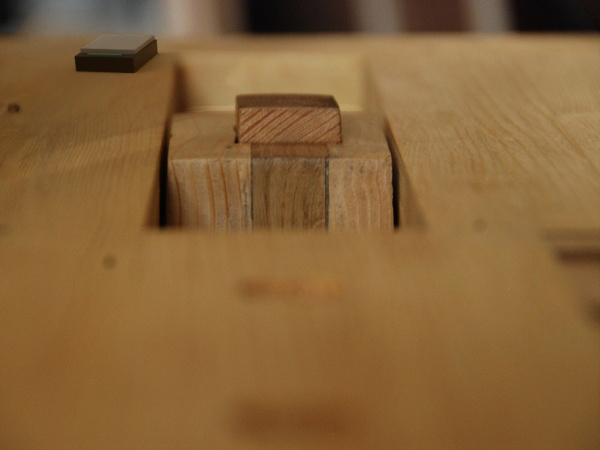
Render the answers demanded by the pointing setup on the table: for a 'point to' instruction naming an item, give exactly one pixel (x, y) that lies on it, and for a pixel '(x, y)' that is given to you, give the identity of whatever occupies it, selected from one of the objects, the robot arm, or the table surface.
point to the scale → (116, 53)
